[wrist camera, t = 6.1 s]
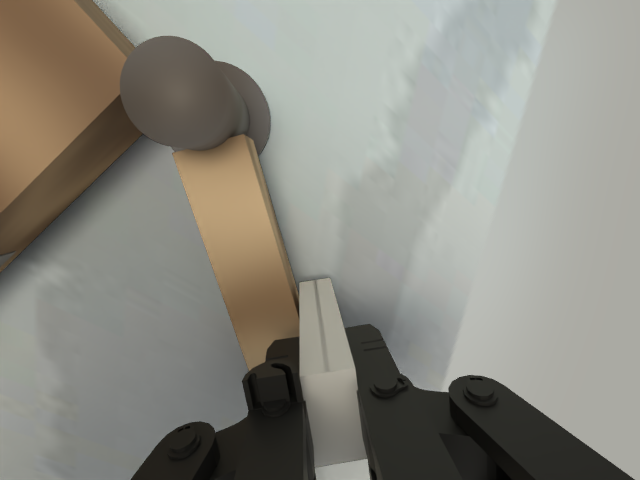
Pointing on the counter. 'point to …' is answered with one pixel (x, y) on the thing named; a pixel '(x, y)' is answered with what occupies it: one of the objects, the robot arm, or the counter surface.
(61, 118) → the stool top
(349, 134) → the counter surface
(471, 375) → the robot arm
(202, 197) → the hinged leg
